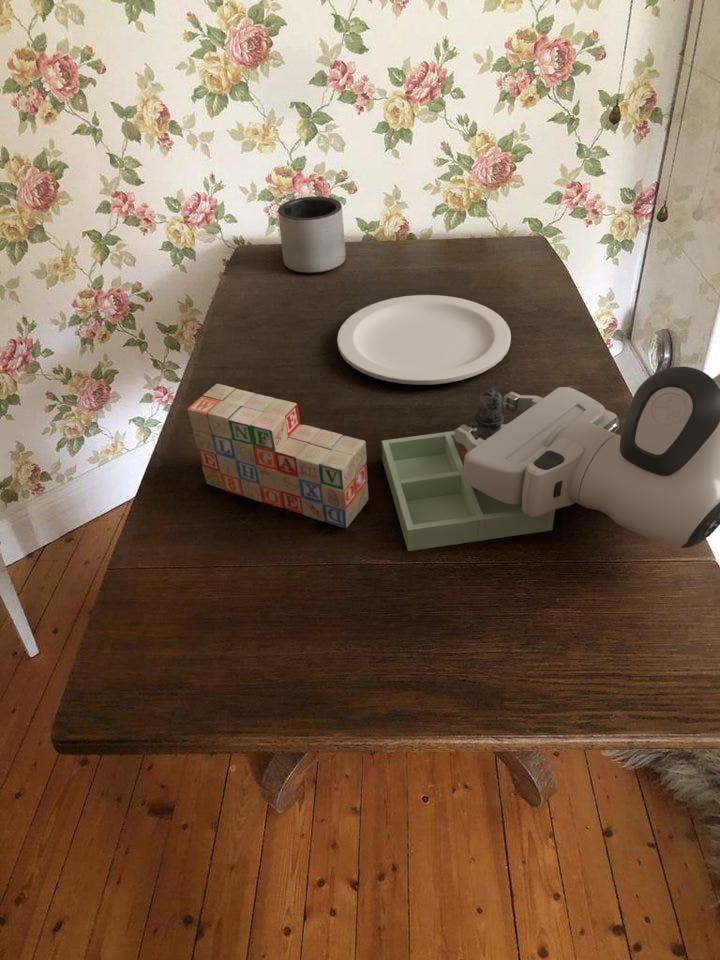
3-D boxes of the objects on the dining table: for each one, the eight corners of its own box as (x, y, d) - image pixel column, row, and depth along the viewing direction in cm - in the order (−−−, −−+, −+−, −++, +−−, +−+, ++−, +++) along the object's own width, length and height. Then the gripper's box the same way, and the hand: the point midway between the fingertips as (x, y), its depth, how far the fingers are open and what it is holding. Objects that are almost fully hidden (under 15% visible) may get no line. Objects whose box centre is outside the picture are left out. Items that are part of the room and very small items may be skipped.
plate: (305, 344, 126) (303, 331, 125) (430, 292, 138) (430, 280, 137) (413, 415, 108) (413, 402, 107) (546, 348, 121) (548, 335, 119)
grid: (508, 443, 102) (510, 423, 100) (552, 530, 89) (555, 508, 87) (382, 460, 101) (381, 440, 99) (407, 551, 88) (407, 530, 85)
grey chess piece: (505, 449, 100) (512, 372, 93) (512, 477, 96) (520, 398, 88) (461, 451, 100) (464, 374, 93) (466, 479, 96) (470, 401, 88)
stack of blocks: (370, 499, 95) (365, 419, 87) (346, 531, 91) (339, 450, 83) (232, 457, 103) (216, 381, 95) (204, 484, 99) (185, 406, 91)
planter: (300, 281, 145) (294, 224, 138) (274, 259, 154) (266, 205, 146) (357, 265, 149) (354, 209, 142) (328, 244, 158) (324, 191, 151)
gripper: (631, 398, 89) (534, 359, 97) (528, 481, 79) (429, 430, 86) (622, 441, 93) (530, 400, 101) (523, 525, 83) (428, 472, 91)
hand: (482, 414), depth 94 cm, fingers open, 8 cm apart
